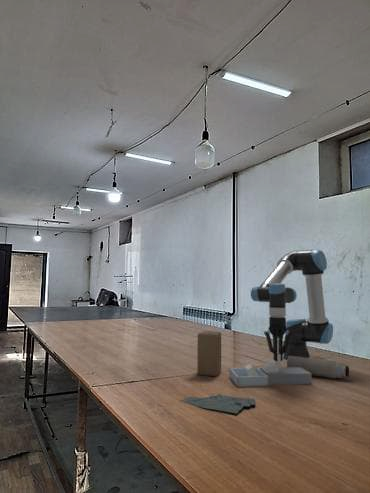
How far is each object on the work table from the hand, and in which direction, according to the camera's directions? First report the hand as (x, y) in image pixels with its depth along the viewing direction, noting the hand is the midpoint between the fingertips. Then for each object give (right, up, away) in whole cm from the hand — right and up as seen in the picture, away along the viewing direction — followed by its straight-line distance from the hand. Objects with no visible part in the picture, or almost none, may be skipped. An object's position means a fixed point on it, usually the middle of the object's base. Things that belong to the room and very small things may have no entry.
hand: (278, 368), depth 170 cm
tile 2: (-4, -1, 0) cm, 4 cm away
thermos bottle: (+10, -3, +17) cm, 20 cm away
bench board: (+3, -6, 0) cm, 7 cm away
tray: (-14, -5, -2) cm, 15 cm away
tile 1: (-11, -1, -1) cm, 11 cm away
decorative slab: (-30, -3, -34) cm, 45 cm away
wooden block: (-31, -7, +12) cm, 34 cm away
